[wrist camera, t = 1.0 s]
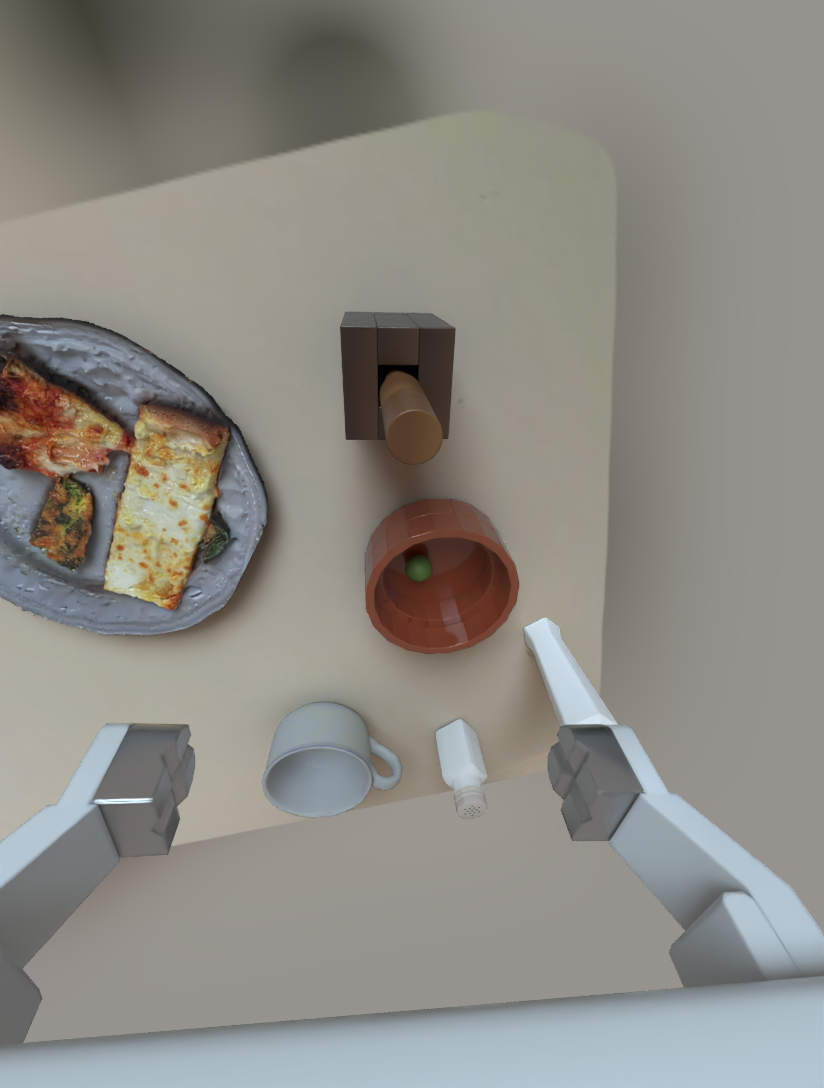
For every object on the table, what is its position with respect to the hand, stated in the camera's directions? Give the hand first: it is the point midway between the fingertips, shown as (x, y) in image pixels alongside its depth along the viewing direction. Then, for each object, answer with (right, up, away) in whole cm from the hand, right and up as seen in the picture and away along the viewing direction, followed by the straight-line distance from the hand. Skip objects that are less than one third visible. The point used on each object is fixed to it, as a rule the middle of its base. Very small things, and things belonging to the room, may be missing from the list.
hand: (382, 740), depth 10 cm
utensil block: (-1, +18, +23) cm, 29 cm away
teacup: (-8, -16, +42) cm, 46 cm away
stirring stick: (-1, +18, +23) cm, 29 cm away
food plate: (-23, +9, +26) cm, 36 cm away
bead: (+1, +2, +30) cm, 30 cm away
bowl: (+3, +3, +32) cm, 32 cm away
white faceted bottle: (+14, -5, +38) cm, 41 cm away
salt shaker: (+6, -18, +45) cm, 49 cm away
